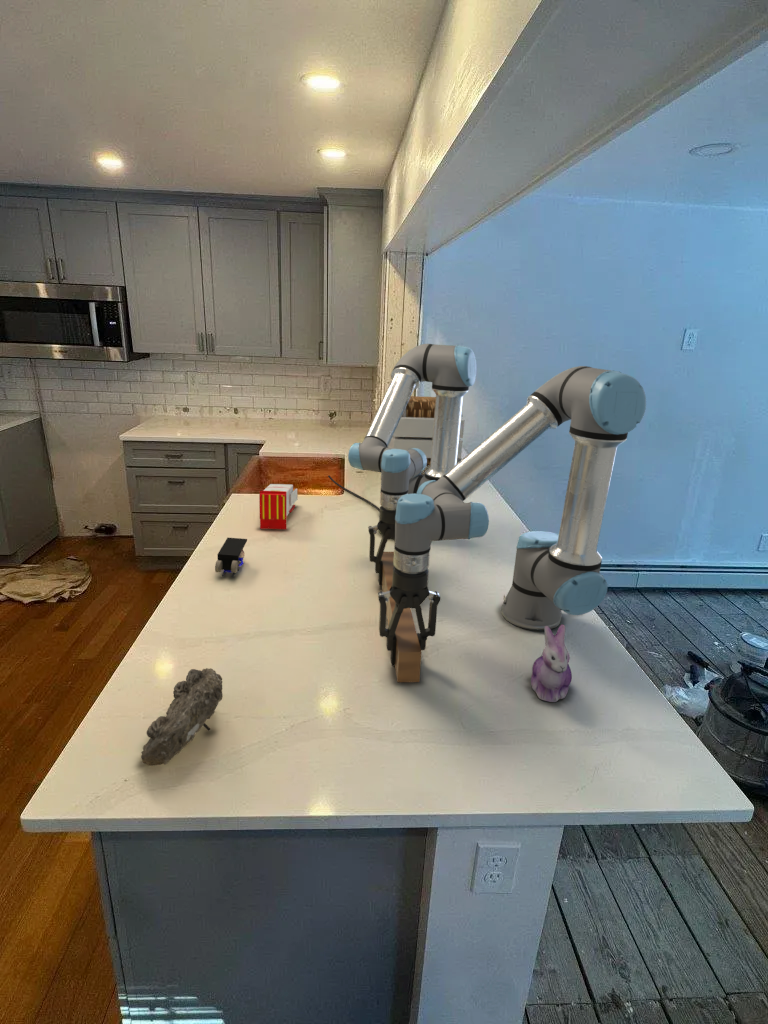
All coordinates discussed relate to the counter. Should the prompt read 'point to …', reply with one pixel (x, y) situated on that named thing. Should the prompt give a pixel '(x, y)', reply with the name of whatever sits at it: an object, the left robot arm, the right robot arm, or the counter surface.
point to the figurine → (552, 668)
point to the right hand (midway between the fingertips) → (404, 661)
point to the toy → (276, 505)
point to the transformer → (419, 427)
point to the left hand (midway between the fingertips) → (389, 582)
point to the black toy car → (230, 556)
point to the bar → (402, 631)
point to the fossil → (183, 716)
